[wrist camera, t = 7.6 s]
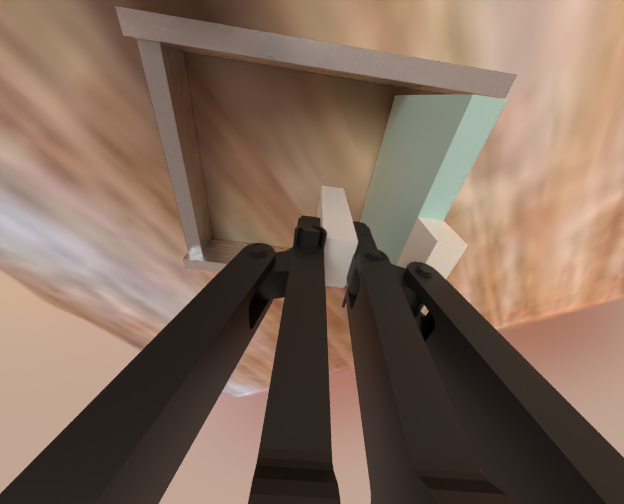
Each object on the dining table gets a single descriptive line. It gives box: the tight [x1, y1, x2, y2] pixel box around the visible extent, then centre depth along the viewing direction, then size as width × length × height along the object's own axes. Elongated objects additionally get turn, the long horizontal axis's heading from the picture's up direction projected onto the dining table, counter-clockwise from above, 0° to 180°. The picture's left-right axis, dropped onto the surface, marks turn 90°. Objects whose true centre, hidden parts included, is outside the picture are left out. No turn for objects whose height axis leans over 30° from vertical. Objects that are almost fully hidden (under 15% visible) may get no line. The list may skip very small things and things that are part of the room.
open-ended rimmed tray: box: [115, 6, 517, 286], centre depth 17 cm, size 20×16×4 cm
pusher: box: [359, 94, 507, 314], centre depth 14 cm, size 1×13×11 cm, turn 173°
